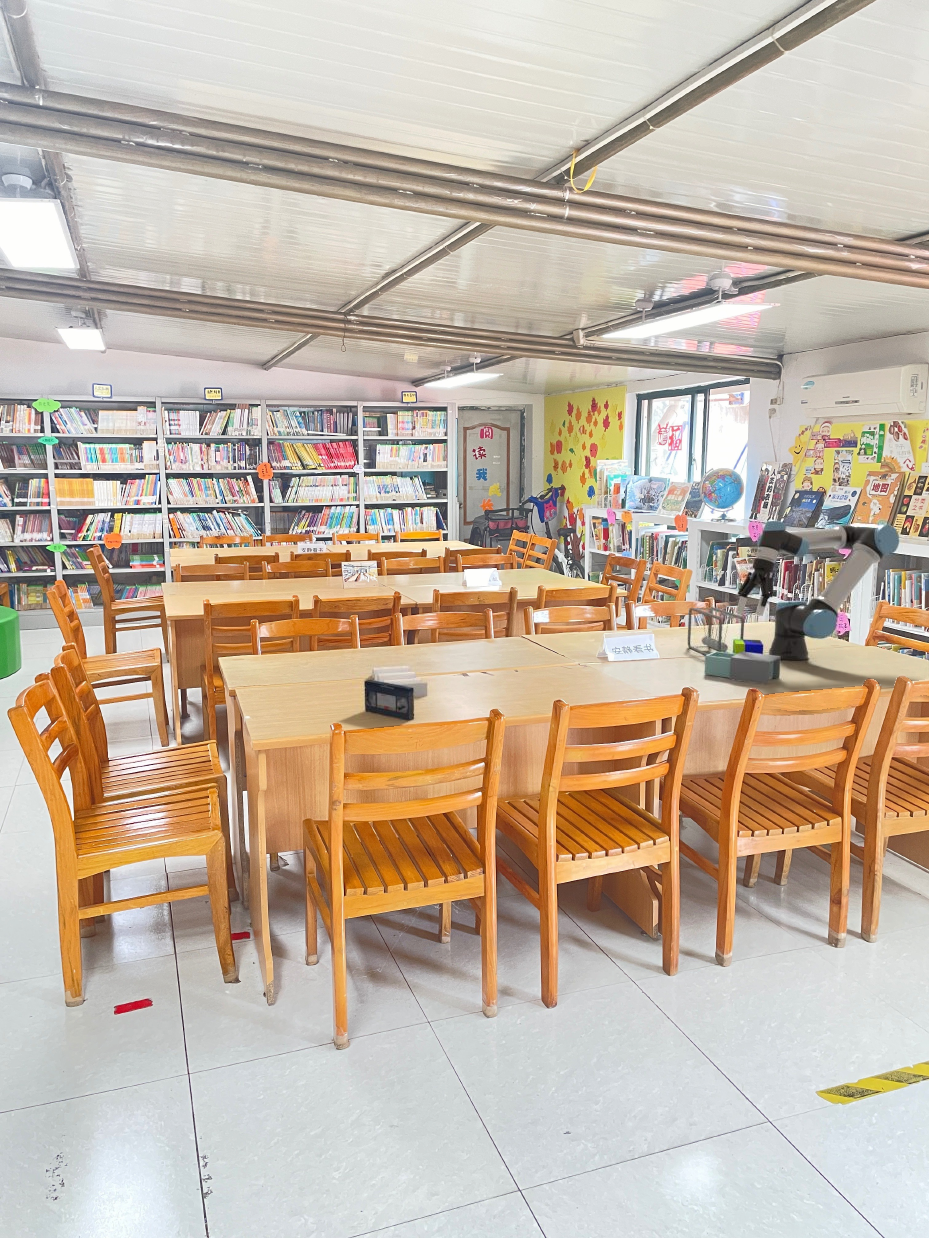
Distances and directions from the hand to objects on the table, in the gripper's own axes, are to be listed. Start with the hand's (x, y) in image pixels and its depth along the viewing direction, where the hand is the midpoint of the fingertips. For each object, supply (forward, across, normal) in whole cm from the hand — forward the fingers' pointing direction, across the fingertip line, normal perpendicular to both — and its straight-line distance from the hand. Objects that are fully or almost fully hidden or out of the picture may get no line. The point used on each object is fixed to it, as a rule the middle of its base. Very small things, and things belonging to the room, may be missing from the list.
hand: (748, 614), depth 331 cm
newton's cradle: (+16, -33, +10) cm, 38 cm away
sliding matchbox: (+24, +7, -1) cm, 25 cm away
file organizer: (+65, -10, -118) cm, 135 cm away
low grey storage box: (+23, +12, +3) cm, 26 cm away
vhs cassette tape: (+71, +28, -126) cm, 147 cm away
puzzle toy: (+19, -7, +10) cm, 22 cm away
